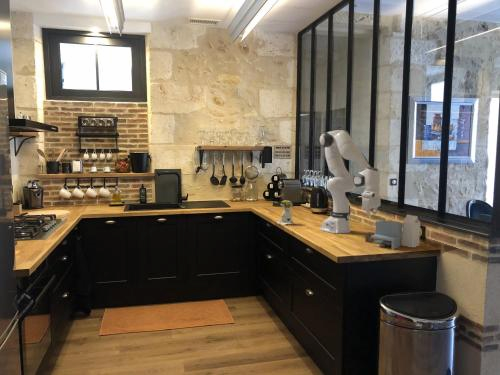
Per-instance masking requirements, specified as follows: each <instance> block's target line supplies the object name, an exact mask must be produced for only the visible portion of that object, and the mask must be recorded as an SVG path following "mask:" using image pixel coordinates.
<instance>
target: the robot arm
mask: <svg viewBox="0 0 500 375" xmlns="http://www.w3.org/2000/svg"><path fill="white" fill-rule="evenodd" d="M319 144H320V146H321V147H323V148H324V156H325V160H326V163H327V164H326V165H327V166H328V171H329V173H331V174H332V175H333V176H334V177H332V178H329V179H328V180H327V182H326V189H327V190H328V191H329V193H330V194H331V195H330V196H331V197H332V203H333V204H332V205H333V206H332V211H330V212H329V214H330V216H329V217H327V218H326V219H325V220H324V221H323V222H322V225H321V227H319V228H318V230H319V231H321V232H325V233H326V232H327V233H331V234H349V233H351V232H352V231H351V226H350V216H351V215H350V214H351V213H350V200H349V199H348V198H347V196H346V193H348V192H351V191H354V190H355V189H356V188H364V191H363V192H362V193H361V197H362V198H361V201H362V203H361V208H362V210H363V211H364V210H365V212H366V217H370V216H371V210H372V209H373V211H372V215H377V212H378V208H379V207H381V195H380V181H381V180H380V179H381V178H380V176H381V175H380V171H379V169H378V168H376V167H372V165H371V164H370V163H369V160H368V159H367V158H366V156H365V155H364V153H362V152H361V151H360V149H358V147H357V145H356V144H355V142H354V140H353V138H352V137H351V134H350V132H349V130H347V129H341V130H340V129H339V130H337V129H336V130H331V131H327V132H322V133H321V134H320V135H319ZM343 159H345V160H347V161H351V162H354V163H356V164H358V166H359V167H360V168H361V171H360V172H357V173H355V174H354V175H353V176H352V175H351V174H350V172H349V171H348V170H347V168H346V165H345V162H344V160H343Z"/></svg>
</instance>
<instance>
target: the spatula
mask: <svg viewBox="0 0 500 375" xmlns="http://www.w3.org/2000/svg"><path fill="white" fill-rule="evenodd" d="M372 235H375V232H374V231H366V232H365V243H368V244H369V243H370V244H372V243H373V244H378V245H380V243H386V244H387V246H390V245H391V247H392V242H386V241H379V239H375V238H371V236H372Z"/></svg>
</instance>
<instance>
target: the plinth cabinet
mask: <svg viewBox="0 0 500 375" xmlns="http://www.w3.org/2000/svg"><path fill="white" fill-rule="evenodd" d="M402 233H403V222H398V221H389V220H382V219H378V220H376V221H375V232H374V235H372V236H371V238H374V240H379V241H386V242H392V246H391V250H392V249H394V250H396V249H398V248H400V247H401V246H402ZM397 247H398V248H397ZM395 248H396V249H395Z"/></svg>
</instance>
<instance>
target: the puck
mask: <svg viewBox="0 0 500 375" xmlns="http://www.w3.org/2000/svg"><path fill="white" fill-rule="evenodd" d="M380 246H381V248H387V247H386V246H388V245H387V244H386V243H380V244H379V247H380Z"/></svg>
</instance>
